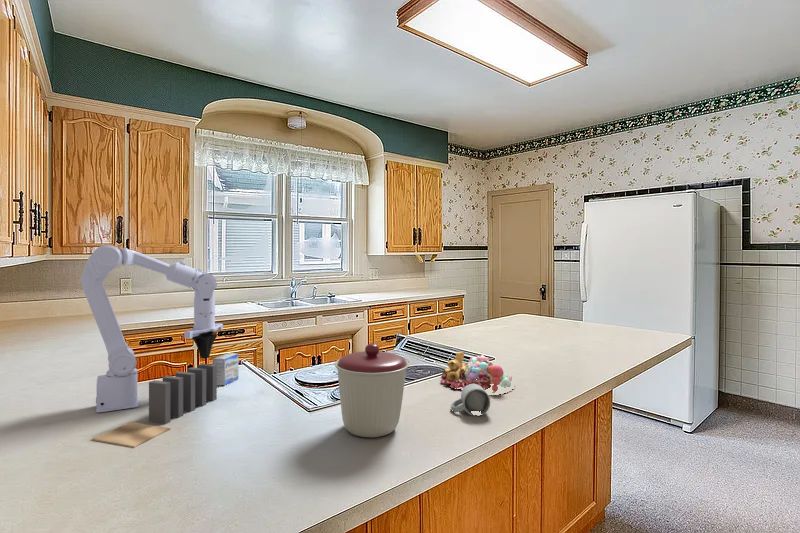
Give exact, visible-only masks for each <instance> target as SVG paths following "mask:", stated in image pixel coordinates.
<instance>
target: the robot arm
mask: <svg viewBox="0 0 800 533" xmlns="http://www.w3.org/2000/svg"><path fill="white" fill-rule="evenodd" d="M120 264H122V266H140V267H143V268H145V269H149V270H150V271H151V270H152V271H155V272H157V273H161V274H164V275H165V278H166V280H167V281H169V282H172V283H175V284H178V285H181V286H183V287H187V288H190V289H191V288H192V289H194V297H193V327H192V328H190V329H189V330H186V331H185V330H184V331H183V339H190V340H191V339H192V340H193V342H194V343H195V345H196V347H197V351H198V354H199V357H200V359H208V358H210V355H211V351H212V348H213V345H214V342H215V340H216V339H217V337H218V333H216V332H217V331H222V330H224V324H223V323H219V322H217V323H216V297H215V290H216V288H217V286H218V282H217V280H216V278H215V276H213V274H210V273H207V272H205V271H203V269H201V268H197V269H196V268H194V267H191V266H188V265H186V264H187V263H186V262H183V261H180V262H177V261H174V262H173V263H168V262H165V261H162V260H159V259H157V258H154V257H152V256H149V255H146V254H144V253H141V252H139V251H136V250H132V249H128V248H125V247H117V246H115V245H112V244H103V245H100V246H99V247H96V249H95V250H94V251H93V252H92V253H91V255H89V257H88V259H87V261H86V264H85V266H84V269H83V271H82V275H81V277H80V279H79V280H80V284H81V286H82V289H83V292H84V295H85V297H86V300H87V302H88V304H89V308H90V310H91V312H92V315H93V317H94V320H95V323H96V326H97V327H98V329H99V330H98V331H99V333H100V336H101V338H102V341H103V343H104V345H105V349H106V351H107V352H106V353H107V354H108V356H107V360H108V368H109V369H108V370H107V371H106V373H105V374H103V375H102V374H101V375H98V376H97V378H96V397H95V404H96V410H95V411H96V413H104V412H106V413H107V412H111V411H119V410H125V409H132V408H133V409H134V408H138V407H140V396H138V394H139V393H138V368H136V367H137V364H138V363H137V357H136V356H135V351H134V350H133V349H132V348H131V347H130V346H129V345H128V344H127V342H126V340H125V337H124V335H123V332H122V329H121V327H120V325H119V322H118V319H117V316H116V314H115V311H114V309H113V306H112V304H111V301H110V299H109V296H108V293H107V291H106V288H105V285H104V281H105V280H106V278H107V277H108V276H109V274H110V272H112V271H113V270H115V269H116V268H117V267H118V266H119V265H120Z"/></svg>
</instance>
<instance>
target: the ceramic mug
mask: <svg viewBox="0 0 800 533" xmlns="http://www.w3.org/2000/svg"><path fill="white" fill-rule="evenodd" d="M490 408H491V397H490V396H489V395H488V394H487V392H486V391H485V390H484V389H483V388H482V387H481V386H480V385H477V384H469V385H467V386H466V387H464V389H463V390H461V394H460V398H459V399H456V400H455V401H453V402H452V403H450V409H451V411H452V410H453V411H454V412H453V411H452V412H453V413H458V412H463V411H465V412H466V413H467V414H469V415H470V416H472V415H473V414H472V413H471V411H479V412H480V411H481V414H482V416H484V415H486V414H487V412H489V409H490ZM483 414H484V415H483Z"/></svg>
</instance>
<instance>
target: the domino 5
mask: <svg viewBox="0 0 800 533" xmlns="http://www.w3.org/2000/svg"><path fill="white" fill-rule="evenodd" d="M197 368H202V369H206V402H207V401H208V402H214V401H217V394H218V390H217V389H218V387H217V386H218V385H217V365H213V364H210V363H209V364H208V363H200V364H198V366H197Z"/></svg>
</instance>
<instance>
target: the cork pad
mask: <svg viewBox="0 0 800 533" xmlns="http://www.w3.org/2000/svg"><path fill="white" fill-rule="evenodd" d="M169 430H171V428H170V427H165V426H158V425H151V424H147V423H146V424H145V423H139V422H132V421H129V422H127V423H124V424H122V425H120V426H118V427H116V428H114V429H110V430H109V431H106V432H103V433H102V434H99V435H97V436H95V437H93V438H91V441H96V442H102V443H107V444H112V445H119V446H124V447H129V448H136V447H138V446H140V445H142V444H145V443H146V442H148V441H150V440H152V439H154V438H156V437H158V436H160V435H162V434H164V433H166V432H168V431H169Z"/></svg>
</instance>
